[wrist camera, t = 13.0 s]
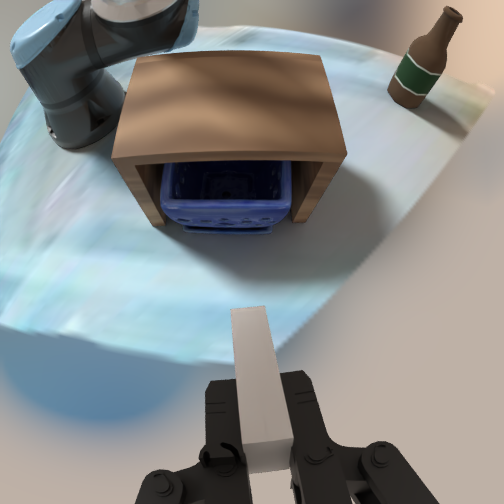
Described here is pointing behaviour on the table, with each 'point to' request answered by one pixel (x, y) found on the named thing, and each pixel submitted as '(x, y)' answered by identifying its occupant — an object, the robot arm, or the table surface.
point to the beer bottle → (424, 62)
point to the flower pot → (227, 195)
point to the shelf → (229, 120)
